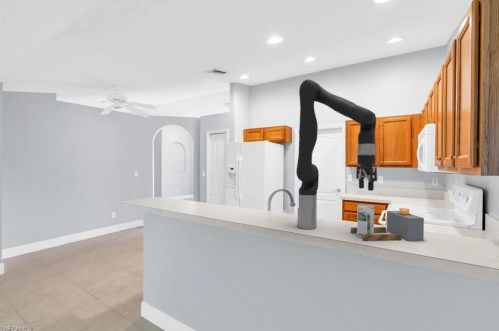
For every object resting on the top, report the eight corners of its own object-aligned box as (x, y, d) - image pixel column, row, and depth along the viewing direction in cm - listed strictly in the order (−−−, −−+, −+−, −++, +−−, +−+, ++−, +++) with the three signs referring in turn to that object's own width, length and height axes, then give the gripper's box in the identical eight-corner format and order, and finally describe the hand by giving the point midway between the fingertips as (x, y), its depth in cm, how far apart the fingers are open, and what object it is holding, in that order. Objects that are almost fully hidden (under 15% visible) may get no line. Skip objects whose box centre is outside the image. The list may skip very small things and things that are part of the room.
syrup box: (356, 236, 122) (356, 205, 122) (361, 233, 127) (362, 203, 126) (369, 239, 118) (369, 206, 118) (374, 236, 122) (374, 205, 122)
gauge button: (402, 218, 121) (402, 209, 121) (397, 216, 125) (397, 208, 125) (411, 218, 122) (411, 209, 121) (405, 216, 126) (405, 208, 125)
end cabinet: (408, 241, 115) (408, 218, 115) (386, 231, 131) (386, 210, 131) (423, 240, 116) (423, 218, 116) (400, 230, 132) (400, 210, 132)
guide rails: (364, 241, 116) (364, 235, 116) (350, 232, 129) (350, 227, 129) (401, 240, 117) (401, 234, 117) (384, 231, 130) (384, 226, 130)
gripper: (351, 154, 128) (351, 187, 129) (366, 153, 114) (365, 191, 114) (366, 154, 129) (366, 187, 129) (382, 153, 115) (382, 191, 115)
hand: (365, 189), depth 122 cm, fingers open, 8 cm apart
